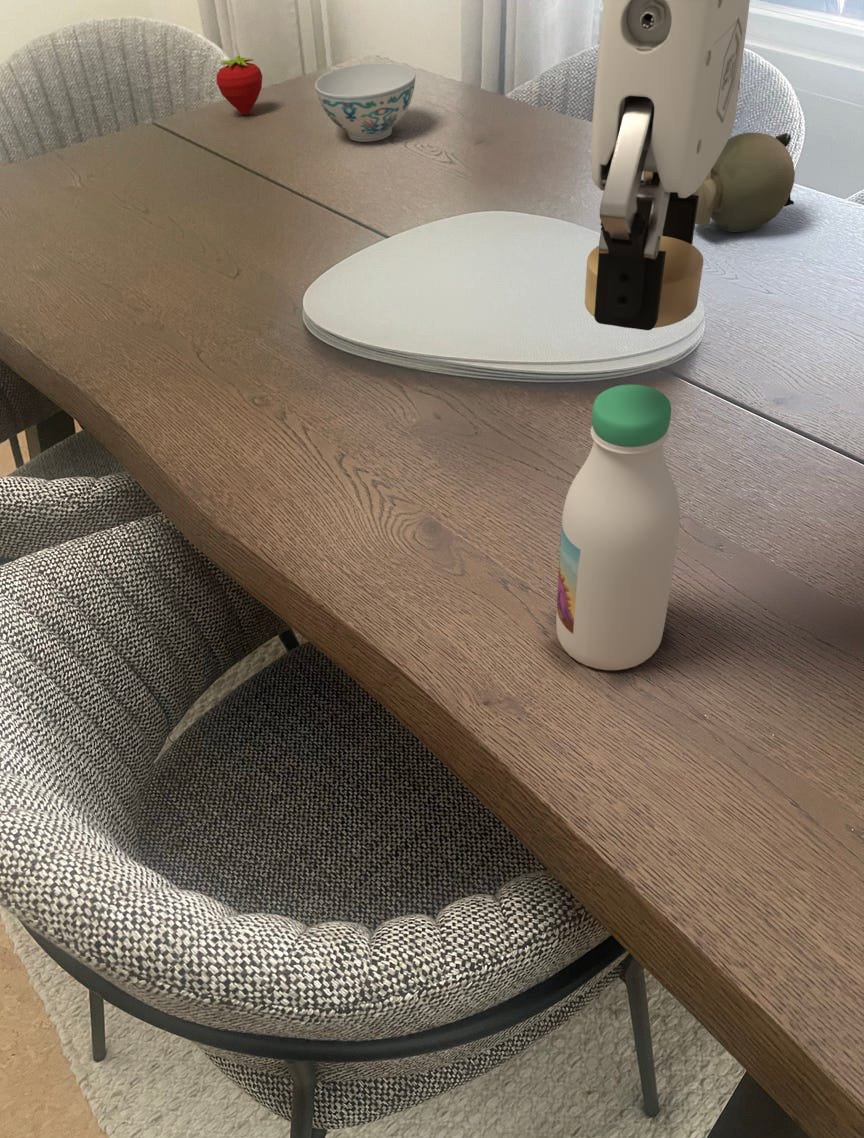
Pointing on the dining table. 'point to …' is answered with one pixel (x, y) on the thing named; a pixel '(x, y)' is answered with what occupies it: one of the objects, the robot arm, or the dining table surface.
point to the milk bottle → (619, 534)
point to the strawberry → (240, 83)
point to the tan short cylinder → (663, 281)
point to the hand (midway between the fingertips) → (643, 291)
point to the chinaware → (367, 98)
